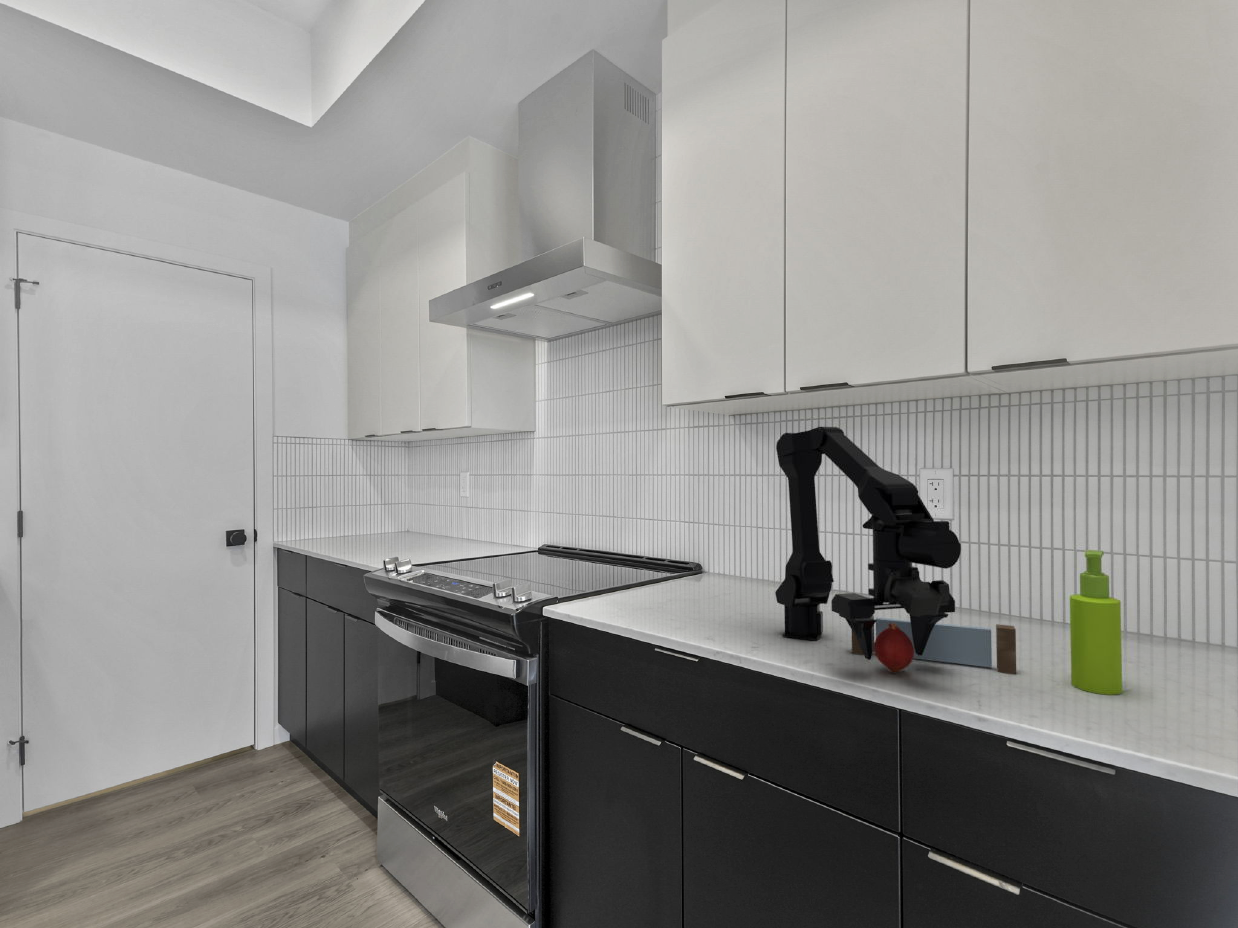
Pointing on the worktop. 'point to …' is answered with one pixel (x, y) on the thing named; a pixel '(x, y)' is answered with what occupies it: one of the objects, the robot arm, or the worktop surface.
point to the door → (948, 642)
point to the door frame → (1003, 646)
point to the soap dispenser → (1095, 632)
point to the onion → (894, 648)
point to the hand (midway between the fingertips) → (893, 657)
